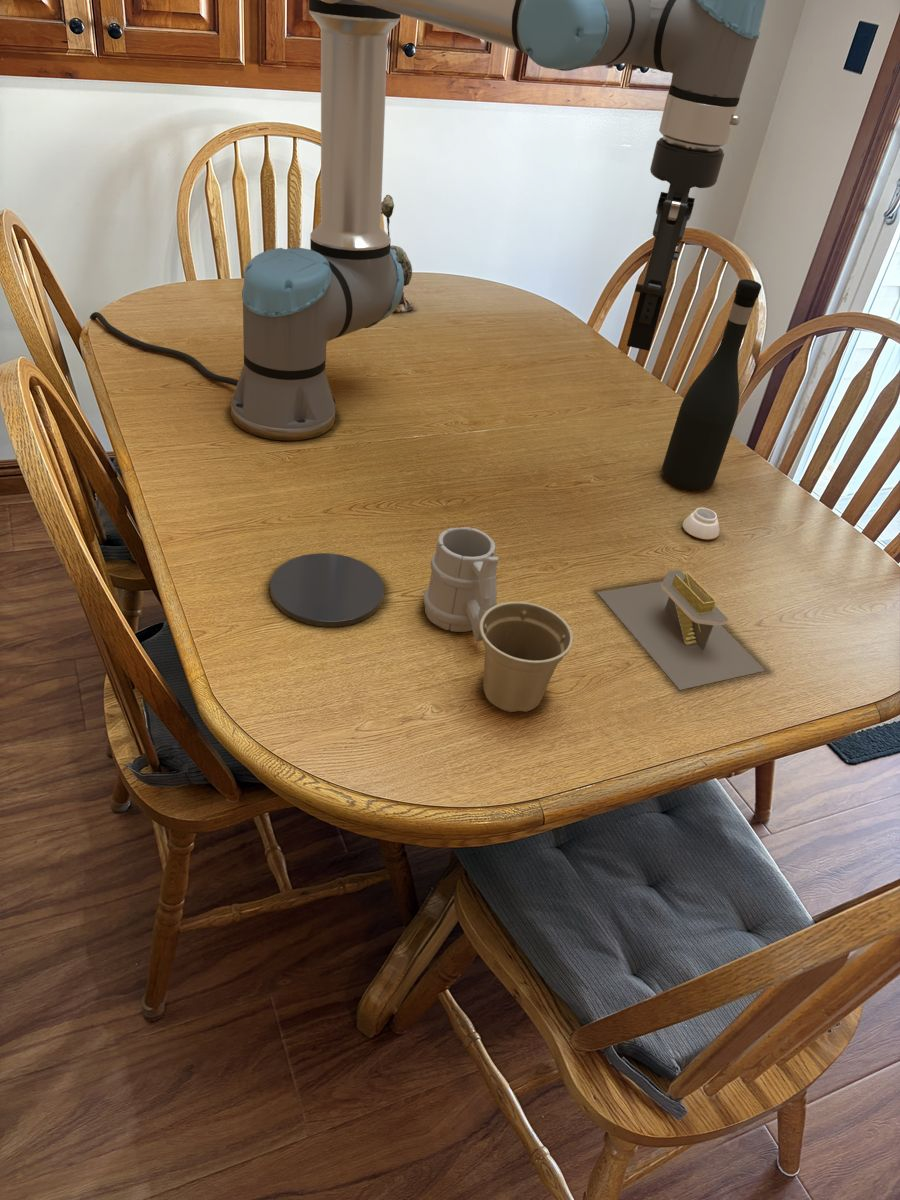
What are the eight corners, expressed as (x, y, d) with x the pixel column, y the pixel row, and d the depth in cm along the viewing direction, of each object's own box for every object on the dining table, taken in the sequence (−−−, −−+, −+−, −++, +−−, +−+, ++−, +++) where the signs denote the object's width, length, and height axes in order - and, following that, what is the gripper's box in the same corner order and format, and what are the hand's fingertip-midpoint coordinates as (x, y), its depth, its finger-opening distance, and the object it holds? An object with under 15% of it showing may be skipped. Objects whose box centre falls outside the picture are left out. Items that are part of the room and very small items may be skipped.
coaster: (250, 607, 104) (250, 602, 104) (297, 547, 114) (297, 542, 114) (360, 639, 102) (361, 634, 102) (398, 576, 112) (399, 570, 112)
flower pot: (551, 735, 94) (568, 671, 89) (459, 713, 95) (472, 648, 90) (560, 675, 102) (577, 613, 97) (476, 655, 103) (488, 593, 97)
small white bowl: (679, 534, 128) (715, 545, 127) (685, 516, 127) (722, 527, 126) (684, 517, 132) (719, 528, 131) (690, 500, 130) (726, 510, 129)
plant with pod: (376, 316, 177) (385, 206, 165) (366, 294, 186) (374, 188, 173) (418, 318, 179) (430, 209, 167) (406, 296, 188) (417, 191, 176)
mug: (471, 588, 112) (486, 503, 105) (514, 651, 104) (534, 563, 97) (412, 597, 109) (423, 510, 102) (451, 663, 101) (467, 573, 94)
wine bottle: (656, 463, 144) (715, 268, 126) (707, 470, 145) (772, 276, 127) (664, 490, 138) (727, 288, 120) (717, 497, 138) (787, 297, 120)
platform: (679, 689, 102) (697, 644, 99) (596, 592, 115) (609, 548, 111) (765, 670, 107) (785, 626, 103) (676, 578, 120) (691, 536, 116)
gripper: (723, 171, 93) (666, 372, 106) (727, 129, 113) (678, 303, 125) (649, 157, 94) (601, 357, 107) (665, 118, 114) (623, 291, 126)
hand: (643, 328), depth 116 cm, fingers open, 13 cm apart
